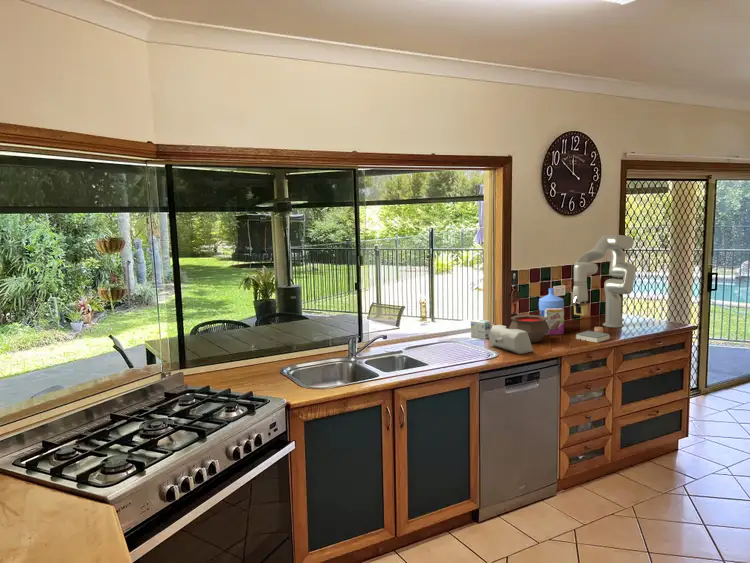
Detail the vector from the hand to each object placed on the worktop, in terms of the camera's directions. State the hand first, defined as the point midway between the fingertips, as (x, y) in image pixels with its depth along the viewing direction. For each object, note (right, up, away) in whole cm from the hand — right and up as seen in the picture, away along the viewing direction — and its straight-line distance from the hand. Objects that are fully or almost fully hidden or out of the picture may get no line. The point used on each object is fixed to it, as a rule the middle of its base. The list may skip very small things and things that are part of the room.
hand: (580, 312), depth 332 cm
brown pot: (-34, -17, -7) cm, 39 cm away
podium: (+3, -16, -11) cm, 19 cm away
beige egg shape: (+10, -14, -3) cm, 18 cm away
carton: (0, -1, 0) cm, 1 cm away
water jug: (-13, -13, +16) cm, 24 cm away
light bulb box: (-62, -17, +5) cm, 64 cm away
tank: (-53, -20, -28) cm, 63 cm away
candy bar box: (-15, -15, +5) cm, 21 cm away
